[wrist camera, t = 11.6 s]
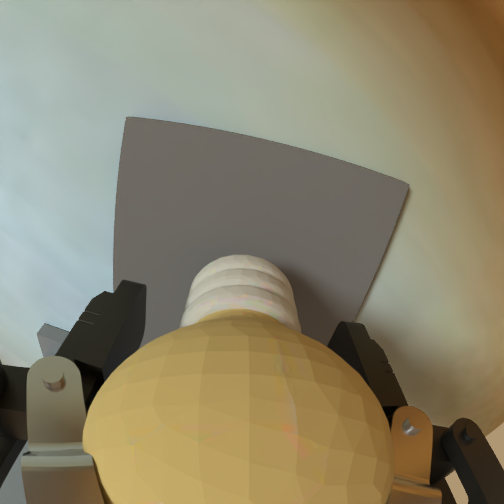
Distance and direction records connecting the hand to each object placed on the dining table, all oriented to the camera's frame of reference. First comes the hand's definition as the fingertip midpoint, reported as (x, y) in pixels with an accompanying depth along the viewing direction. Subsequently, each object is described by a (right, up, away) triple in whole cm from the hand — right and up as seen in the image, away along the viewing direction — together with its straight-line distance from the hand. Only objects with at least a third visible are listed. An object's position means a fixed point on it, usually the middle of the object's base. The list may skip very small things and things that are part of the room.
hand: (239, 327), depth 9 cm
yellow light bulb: (0, +1, +2) cm, 2 cm away
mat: (0, +1, +3) cm, 4 cm away
